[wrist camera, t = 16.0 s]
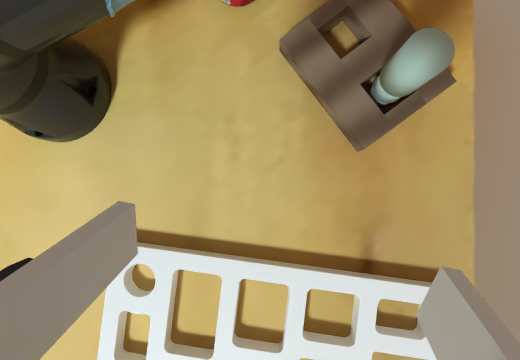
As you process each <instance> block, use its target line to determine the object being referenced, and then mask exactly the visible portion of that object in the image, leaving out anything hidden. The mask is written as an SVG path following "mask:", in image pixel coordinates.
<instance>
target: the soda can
mask: <svg viewBox="0 0 520 360" xmlns="http://www.w3.org/2000/svg"><path fill="white" fill-rule="evenodd" d="M222 1H223V2H225V3H226V4H228V5H231V6H236V7H237V6H245V5H247V4H249V3H251V2H252V1H254V0H222Z"/></svg>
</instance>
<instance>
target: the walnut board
mask: <svg viewBox="0 0 520 360" xmlns="http://www.w3.org/2000/svg"><path fill="white" fill-rule="evenodd" d="M342 20H343V21H344V22H345V24H346V25H347V26H348V27H349V29H350V30H351V31H352V33H353V34H354V35H355V36H356V38H357V39H358V40H359V41H360V43H361V45H359V46H358V47H357V48H355V49H354V50H353V51H351V52H350V53H349V54H347V55H346V56H345V57H343V58H342V59H340V58H339V57H338V55H337V54H336V53H335V52H334V50H333V49H332V48H331V46H330V45H329V44H328V43H327V41H326V40H325V39H324V38H323V35H324V34H325V33H326V32H328V31H329V30H330V29H332V28H333V27H334V26H336V25H337V24H338V23H340V22H341V21H342ZM415 32H416V31H415V29H414V28H413V27H412V26H411V24H410V23H409V22H408V21H407V20H406V18H405V17H404V16H403V15H402V13H401V12H400V11H399V10H398V8H397V7H396V6H395V5H394V4H393V2H392V1H391V0H330V1H329V2H327V3H326V4H325V5H323V6H322V7H321V8H320V9H318V10H317V11H316V12H314V13H313V14H312V15H310V16H309V17H308V18H306V19H305V20H304V21H303V22H301V23H300V24H299V25H297V26H296V27H295V28H293V29H292V30H291V31H289V32H288V33H287V34H286V35H284V36H283V37H282V38H280V52H281V53H282V55H283V56H284V57H285V58H286V60H287V61H288V62H289V64H290V65H291V66H292V68H293V69H294V70H295V71H296V73H297V74H298V75H299V77H300V78H301V79H302V81H303V82H304V83H305V84H306V86H307V87H308V88H309V90H310V91H311V92H312V94H313V95H314V96H315V97H316V99H317V100H318V101H319V103H320V104H321V105H322V106H323V108H324V109H325V110H326V112H327V113H328V114H329V116H330V117H331V118H332V119H333V121H334V122H335V123H336V125H337V126H338V127H339V129H340V130H341V131H342V132H343V134H344V135H345V136H346V138H347V139H348V140H349V142H350V143H351V144H352V145H353V147H354V148H355V149H356V151H357V152H358V151H361V150H363V149H365V148H367V147H368V146H369V145H371V144H372V143H373V142H375V141H376V140H377V139H379V138H380V137H382V136H383V135H384V134H386V133H387V132H388V131H390V130H391V129H392V128H394V127H395V126H397V125H398V124H399V123H401V122H402V121H403V120H405V119H406V118H407V117H409V116H410V115H412V114H413V113H414V112H416V111H417V110H418V109H420V108H421V107H422V106H424V105H425V104H427V103H428V102H429V101H431V100H432V99H433V98H435V97H436V96H437V95H439V94H440V93H442V92H443V91H444V90H446V89H447V88H448V87H450V86H451V85H452V84H454V83H455V82H457V81H456V80H455V79H454V77H453V76H452V75H451V74H450V73H449V71H448V70H447V69H445V70H444V71H442V72H441V73H439V74H438V75H436V76H435V77H434V78H432V79H431V80H429V81H428V82H426V83H425V84H423V85H422V86H421V87H419V88H418V89H416V90H415V91H413V92H412V93H410V94H409V95H407V96H403V97H404V98H405V99H404V100H403V101H401V102H400V103H399V104H397V105H396V106H395V107H393V108H392V109H390V110H389V111H388V112H386V113H385V114H383V113H382V111H381V110H380V109H379V108H378V106H377V105H376V104H375V103H374V101H373V100H372V99H371V97H370V96H369V95H368V94H367V92H366V91H365V90H364V88H363V87H362V85H363V84H365V83H366V82H367V81H369V80H370V79H371V78H373V77H374V76H376V75H377V74H378V73H380V72H381V70H382V68H383V67H384V66H385V65H386V63H387V62H388V61H389V60H390V59H391V58H392V57H393V56H394V55H395V53H396V52H397V51H398V50H399V49H400V48H401V47H402V46H403V44H404V43H405V42H406V41H407V40H408V39H409V38H410V37H411V36H412V35H413V34H414V33H415Z"/></svg>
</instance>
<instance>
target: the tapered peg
mask: <svg viewBox="0 0 520 360" xmlns="http://www.w3.org/2000/svg"><path fill="white" fill-rule="evenodd" d="M454 51H455V50H454V44H453V41H452V40H451V38H450V37H449V36H448V34H446V33H445V32H444V31H442V30H440V29H437V28H423V29H420V30H418V31H417V32H415V33H414V34H413V35H412V36H411V37H410V38H409V39H408V40H407V41H406V42H405V43H404V44H403V46H402V47H401V48H400V49H399V50H398V51H397V52H396V53H395V55H394V56H393V57H392V58H391V59H390V60H389V61H388V62H387V63H386V65H385V66H384V67H383V68H382V70H381V72H380V75H379V76H377V78H376V79H375V80H374V82H373V84H372V87H371V88H370V89H369V90H368V92H367V94H368V95H369V96H370V97H371V99H372V100H373V101H374V103H375V104H376V105H377V106H378V108H380V107H384V106H385V105H387V104H388V103H393V102H395V101H397V100H398V99H399V98H401V97H403V96H407V95H409V94H410V93H412V92H413V91H415V90H416V89H418V88H419V87H421V86H422V85H423V84H425V83H426V82H428V81H429V80H431V79H432V78H434V77H435V76H436V75H438V74H439V73H441V72H442V71H444V70H445V69H446V68H447V67H448V66H449V65H450V64H451V62H452V60H453V57H454Z"/></svg>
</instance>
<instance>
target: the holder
mask: <svg viewBox="0 0 520 360" xmlns="http://www.w3.org/2000/svg"><path fill="white" fill-rule="evenodd" d="M137 247H138V254H137V255H136V256H135V257H134V258H133V260H132V261H131V262H130V263H129V264H128V265H127V266H126V267H125V268H124V269H123V270H122V271H121V272H120V274H119V275H118V276H117V277H116V278H115V279H114V280H113V281H112V282H111V283H110V284H109V285H108V286H107V287H106V294H105V302H104V310H103V318H102V326H101V333H100V341H99V349H98V357H97V360H300V359H301V358H308V359H314V360H372V353H373V352H375V351H376V352H383V353H389V354H396V355H402V356H408V357H415V358H421V359H427V360H437V359H436V357H435V355H434V353H433V351H432V348H431V346H430V344H429V342H428V340H427V338H426V336H425V334H424V331H423V329H422V327H421V325H420V323H419V321H418V320H417V327H416V328H415V329H414V330H404V329H397V328H390V327H384V326H377V325H375V324H376V315H377V306H378V302H379V301H380V300H382V299H390V300H397V301H404V302H410V303H417V304H419V308H420V306H421V304H422V302H423V300H424V298H425V296H426V294H427V292H428V290H429V288H430V286H431V284H432V283H431V282H424V281H417V280H409V279H402V278H395V277H388V276H380V275H373V274H366V273H359V272H351V271H344V270H337V269H330V268H322V267H315V266H308V265H301V264H293V263H286V262H279V261H272V260H264V259H257V258H250V257H243V256H235V255H228V254H221V253H213V252H206V251H199V250H192V249H184V248H177V247H170V246H163V245H155V244H148V243H141V242H137ZM136 264H144V265H146V266H148V267H149V268H151V269H152V271H153V272H154V275H155V279H156V282H155V287H154V289H153V290H151V291H144V290H141V289H140V288H138V287H137V286H136V285H135V283H134V281H133V278H132V272H133V269H134V267H135V265H136ZM179 269H181V270H188V271H194V272H201V273H208V274H215V275H219V276H220V277H221V279H222V287H221V295H220V304H219V312H218V320H217V329H216V337H215V345H214V349H205V348H199V347H193V346H187V345H181V344H175V343H173V342H172V341H171V330H172V321H173V313H174V305H175V297H176V289H177V281H178V273H179ZM243 279H250V280H257V281H264V282H271V283H278V284H285V285H287V286H288V287H289V289H288V298H287V307H286V315H285V324H284V332H283V339H282V341H281V342H280V343H270V342H264V341H258V340H251V339H245V338H239V337H238V336H236V334H235V325H236V317H237V308H238V300H239V291H240V283H241V280H243ZM311 289H320V290H327V291H334V292H341V293H348V294H354V295H355V297H354V306H353V315H352V324H351V332H350V335H349V336H347V337H339V336H332V335H326V334H319V333H313V332H306V331H304V330H303V325H304V316H305V307H306V299H307V293H308V291H309V290H311ZM127 311H128V312H131V313H135V314H147V315H148V316H149V317H150V319H151V323H150V331H149V339H148V347H147V355H143V354H137V353H131V352H127V351H125V350H124V347H123V343H124V335H125V327H126V319H127Z"/></svg>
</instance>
